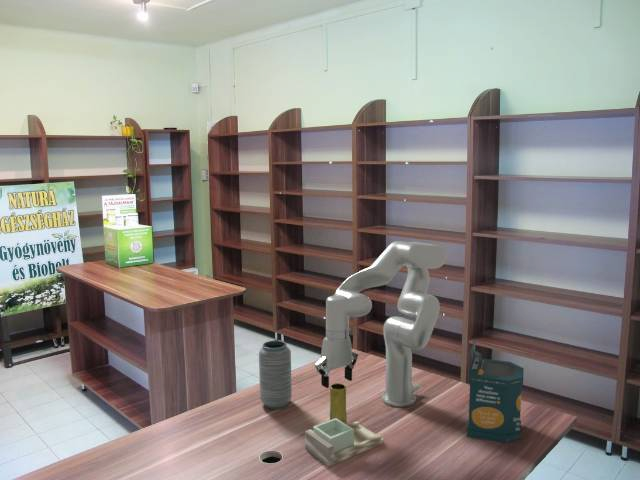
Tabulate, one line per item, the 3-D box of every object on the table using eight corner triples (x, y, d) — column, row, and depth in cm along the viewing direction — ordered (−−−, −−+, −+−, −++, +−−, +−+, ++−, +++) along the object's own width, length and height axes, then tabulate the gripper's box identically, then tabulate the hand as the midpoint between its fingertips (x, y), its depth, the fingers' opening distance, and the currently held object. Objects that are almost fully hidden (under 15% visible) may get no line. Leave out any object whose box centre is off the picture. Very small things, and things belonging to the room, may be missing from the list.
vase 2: (345, 431, 179) (345, 390, 177) (327, 429, 180) (327, 389, 178) (348, 422, 185) (348, 383, 182) (331, 421, 186) (330, 381, 184)
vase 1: (294, 408, 195) (293, 348, 191) (262, 413, 192) (260, 351, 189) (288, 395, 206) (287, 337, 203) (258, 398, 203) (256, 340, 200)
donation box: (472, 414, 190) (474, 337, 185) (520, 421, 184) (524, 343, 179) (466, 436, 175) (469, 354, 170) (520, 445, 169) (524, 360, 164)
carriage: (336, 435, 173) (335, 418, 172) (354, 447, 166) (353, 429, 165) (313, 444, 168) (312, 426, 167) (330, 457, 161) (330, 438, 160)
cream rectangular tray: (359, 427, 181) (359, 410, 180) (383, 442, 172) (383, 424, 171) (305, 449, 169) (305, 431, 168) (328, 466, 159) (328, 447, 158)
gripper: (350, 325, 185) (349, 373, 188) (309, 335, 175) (309, 385, 178) (364, 331, 179) (364, 380, 182) (322, 341, 169) (322, 393, 172)
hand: (336, 383), depth 180 cm, fingers open, 9 cm apart
